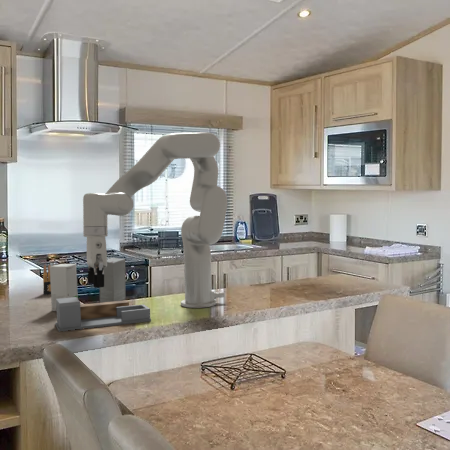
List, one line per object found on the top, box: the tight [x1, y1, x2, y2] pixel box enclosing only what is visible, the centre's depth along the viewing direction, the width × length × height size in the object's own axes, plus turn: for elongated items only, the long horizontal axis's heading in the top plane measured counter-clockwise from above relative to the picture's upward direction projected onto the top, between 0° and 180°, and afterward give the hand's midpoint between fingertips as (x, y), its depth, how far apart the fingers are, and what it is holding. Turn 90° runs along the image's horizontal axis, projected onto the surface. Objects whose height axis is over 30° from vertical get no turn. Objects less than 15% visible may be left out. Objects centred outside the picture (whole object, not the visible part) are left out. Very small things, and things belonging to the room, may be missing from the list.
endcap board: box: [54, 297, 152, 333], centre depth 174 cm, size 28×9×8 cm, turn 114°
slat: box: [80, 299, 130, 320], centre depth 181 cm, size 19×4×5 cm, turn 113°
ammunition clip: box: [42, 262, 69, 296], centre depth 225 cm, size 11×2×12 cm, turn 111°
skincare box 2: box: [99, 257, 126, 303], centre depth 206 cm, size 8×7×16 cm
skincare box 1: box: [50, 263, 79, 312], centre depth 195 cm, size 8×7×16 cm
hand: (95, 284), depth 180 cm, fingers open, 9 cm apart
